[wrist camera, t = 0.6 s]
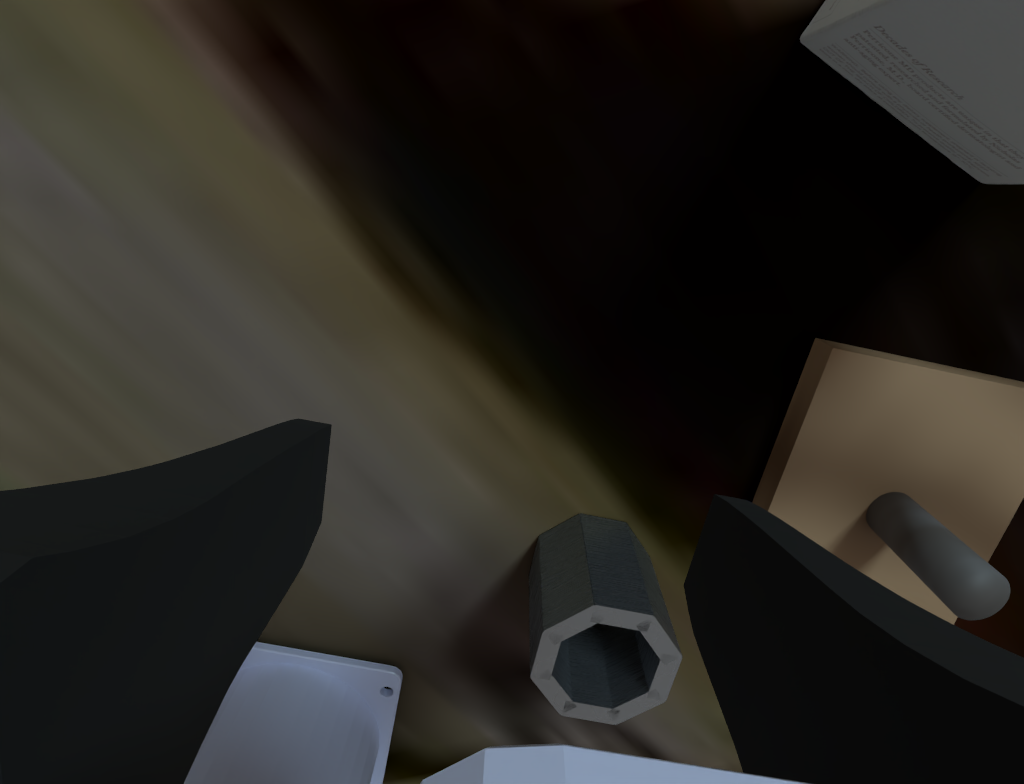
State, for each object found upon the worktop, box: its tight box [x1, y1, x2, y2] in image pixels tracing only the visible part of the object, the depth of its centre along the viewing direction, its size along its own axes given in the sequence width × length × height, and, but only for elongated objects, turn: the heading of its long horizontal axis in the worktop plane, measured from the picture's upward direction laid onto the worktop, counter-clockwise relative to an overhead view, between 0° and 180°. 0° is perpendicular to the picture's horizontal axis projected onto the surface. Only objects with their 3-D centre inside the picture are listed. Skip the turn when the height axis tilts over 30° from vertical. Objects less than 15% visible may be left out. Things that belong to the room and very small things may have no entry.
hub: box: [529, 514, 682, 725], centre depth 21 cm, size 4×4×5 cm
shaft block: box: [752, 338, 1024, 625], centre depth 19 cm, size 10×8×6 cm
